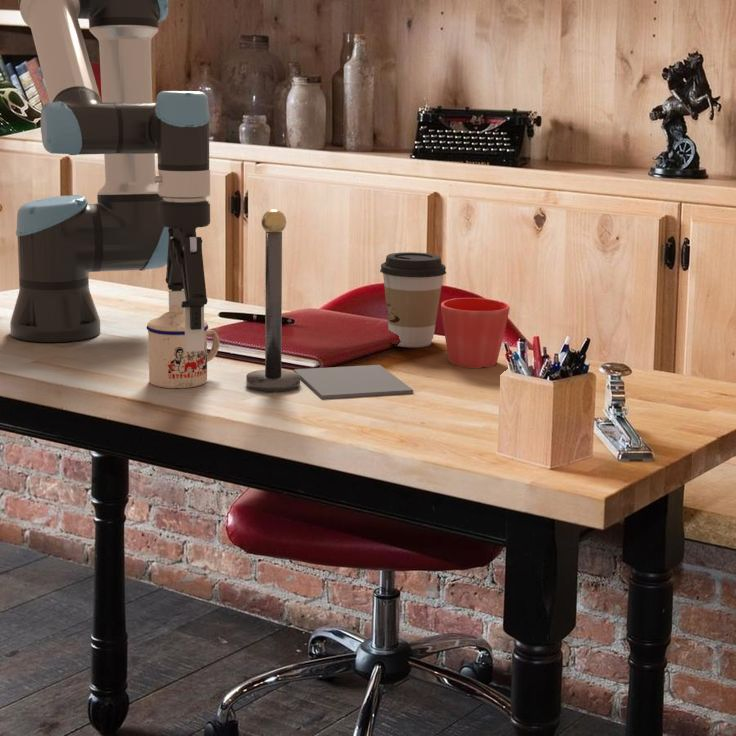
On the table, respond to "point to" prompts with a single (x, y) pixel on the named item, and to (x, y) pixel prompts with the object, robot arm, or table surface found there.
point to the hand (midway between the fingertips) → (186, 341)
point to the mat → (352, 381)
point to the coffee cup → (412, 295)
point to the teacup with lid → (176, 352)
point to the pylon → (273, 314)
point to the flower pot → (474, 330)
